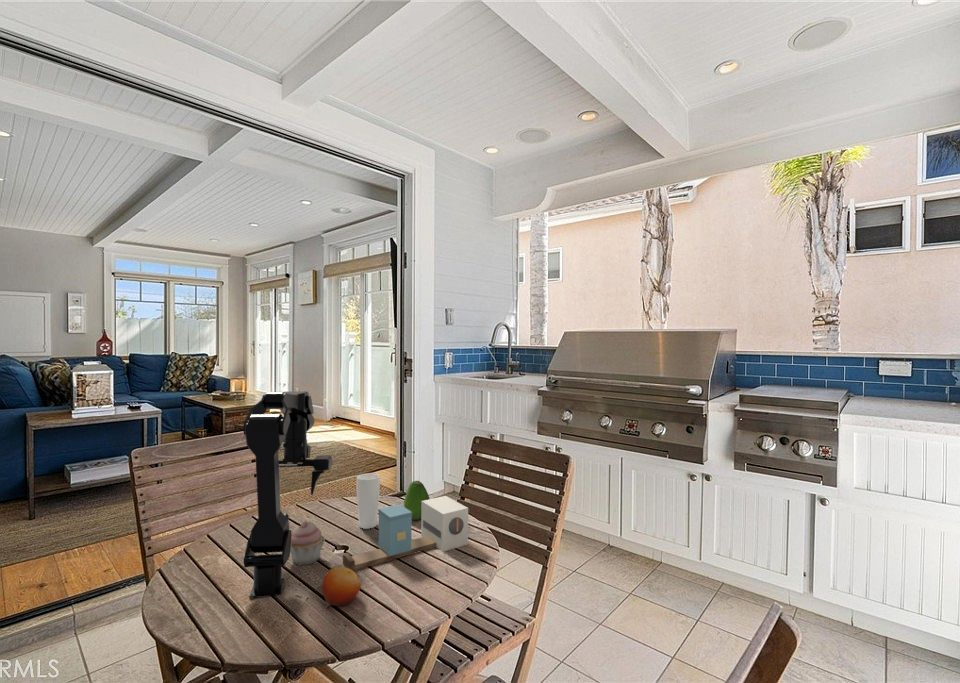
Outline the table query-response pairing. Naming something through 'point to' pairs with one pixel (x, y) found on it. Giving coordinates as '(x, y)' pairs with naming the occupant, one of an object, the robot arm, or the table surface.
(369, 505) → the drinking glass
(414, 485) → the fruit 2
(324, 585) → the fruit
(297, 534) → the cupcake
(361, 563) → the rail
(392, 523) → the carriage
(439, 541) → the cabinet
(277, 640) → the table surface
